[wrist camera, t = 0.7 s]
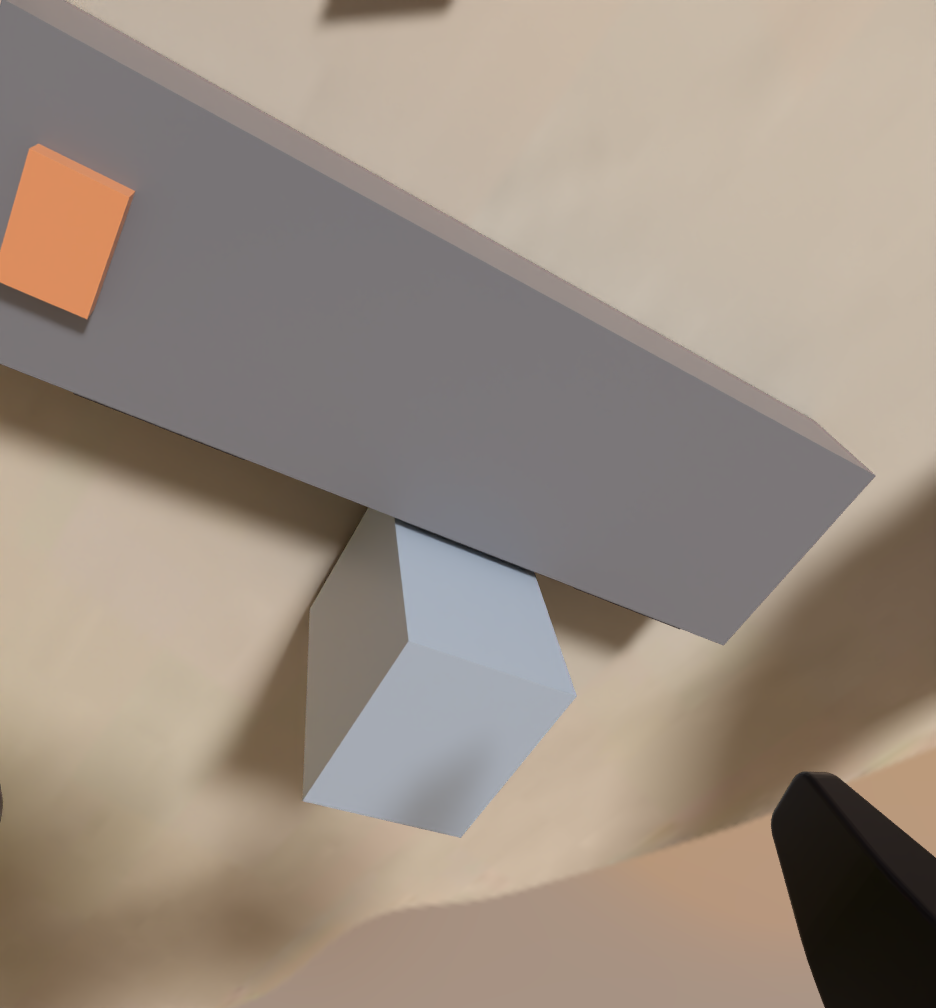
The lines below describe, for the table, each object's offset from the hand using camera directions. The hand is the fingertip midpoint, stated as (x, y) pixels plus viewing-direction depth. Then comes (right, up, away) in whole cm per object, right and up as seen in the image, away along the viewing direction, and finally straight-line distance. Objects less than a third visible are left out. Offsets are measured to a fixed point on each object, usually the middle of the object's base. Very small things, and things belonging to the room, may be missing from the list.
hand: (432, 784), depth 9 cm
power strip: (-3, +8, +9) cm, 13 cm away
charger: (-1, +1, +14) cm, 14 cm away
